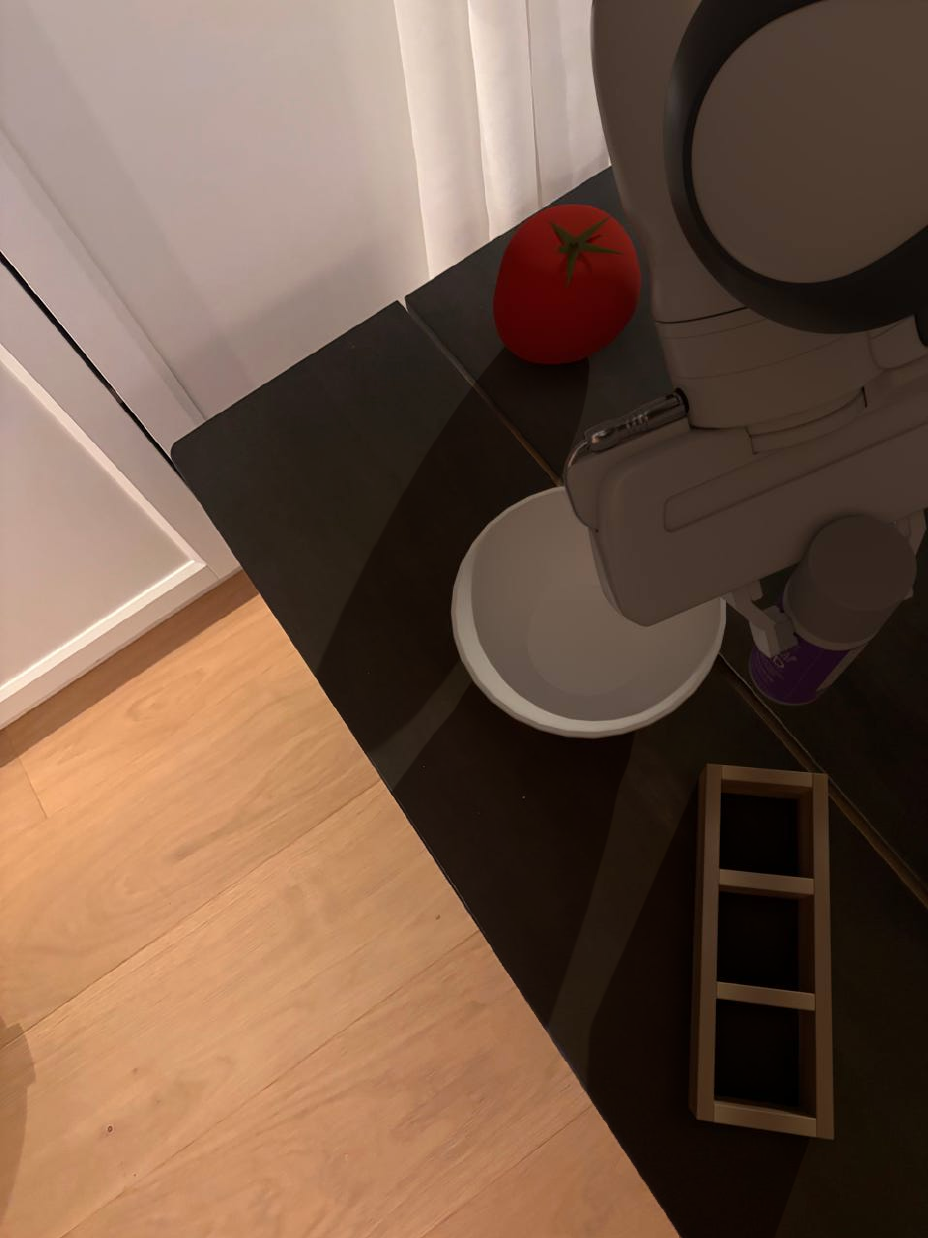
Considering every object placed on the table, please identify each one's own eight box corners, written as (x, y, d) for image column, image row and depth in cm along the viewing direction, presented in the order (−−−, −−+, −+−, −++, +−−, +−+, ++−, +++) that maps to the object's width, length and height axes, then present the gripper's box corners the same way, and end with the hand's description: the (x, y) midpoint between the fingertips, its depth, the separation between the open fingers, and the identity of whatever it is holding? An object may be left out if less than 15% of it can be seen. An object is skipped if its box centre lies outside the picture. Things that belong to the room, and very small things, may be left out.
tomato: (465, 332, 84) (448, 241, 74) (578, 248, 86) (577, 148, 76) (552, 415, 80) (546, 331, 69) (669, 325, 82) (681, 230, 71)
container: (731, 671, 53) (782, 569, 39) (780, 614, 54) (847, 494, 40) (799, 722, 52) (877, 635, 38) (848, 662, 53) (942, 555, 39)
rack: (811, 787, 66) (827, 774, 62) (815, 1126, 59) (834, 1140, 54) (698, 777, 68) (706, 763, 63) (688, 1107, 60) (696, 1119, 55)
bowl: (428, 590, 76) (410, 548, 68) (640, 495, 76) (646, 442, 69) (525, 804, 68) (517, 784, 61) (759, 698, 69) (780, 665, 61)
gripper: (571, 458, 36) (664, 738, 41) (1041, 259, 36) (1071, 562, 42) (532, 431, 42) (618, 680, 47) (938, 260, 42) (976, 526, 48)
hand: (834, 623), depth 44 cm, fingers closed on container, 5 cm apart
